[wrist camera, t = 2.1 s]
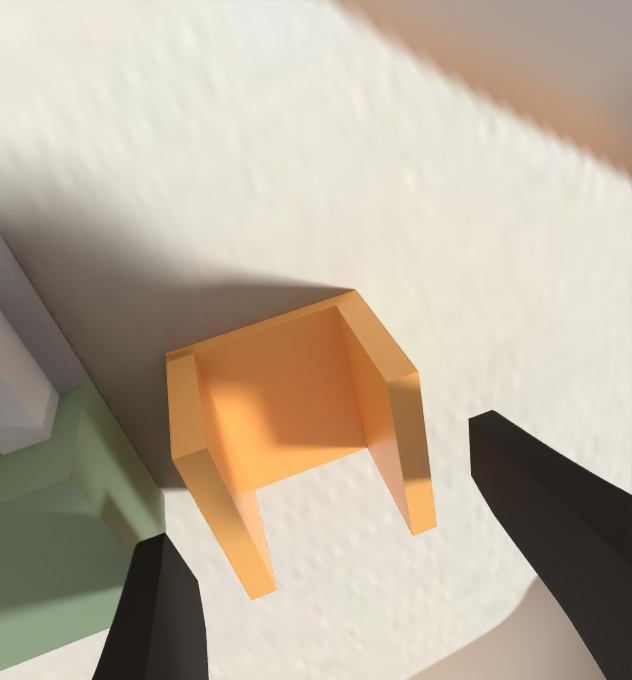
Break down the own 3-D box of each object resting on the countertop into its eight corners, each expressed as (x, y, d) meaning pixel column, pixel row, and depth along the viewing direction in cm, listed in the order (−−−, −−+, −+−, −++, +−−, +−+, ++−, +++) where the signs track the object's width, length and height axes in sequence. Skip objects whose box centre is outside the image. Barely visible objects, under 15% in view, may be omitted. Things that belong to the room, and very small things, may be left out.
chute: (230, 483, 16) (251, 600, 13) (165, 349, 13) (171, 459, 10) (380, 427, 17) (436, 526, 14) (353, 286, 14) (418, 370, 10)
